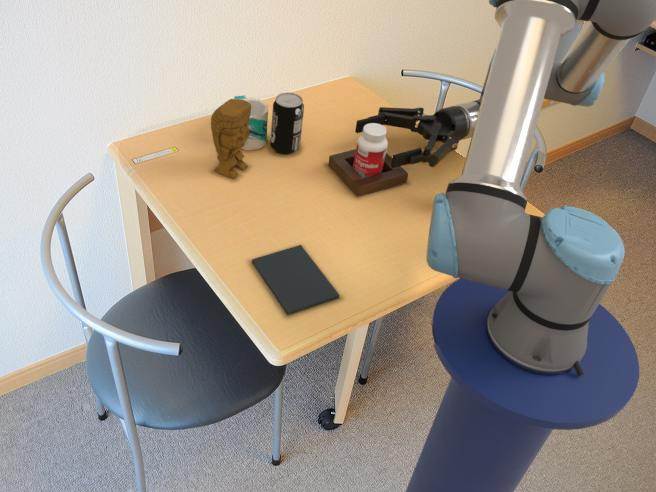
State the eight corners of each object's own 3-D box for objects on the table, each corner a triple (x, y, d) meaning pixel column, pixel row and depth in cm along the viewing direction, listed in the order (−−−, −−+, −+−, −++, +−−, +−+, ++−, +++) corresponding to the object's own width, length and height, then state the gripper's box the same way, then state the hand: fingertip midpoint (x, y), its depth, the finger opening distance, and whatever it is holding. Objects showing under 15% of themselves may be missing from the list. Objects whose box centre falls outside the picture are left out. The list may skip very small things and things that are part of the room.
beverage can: (266, 141, 147) (269, 93, 138) (294, 137, 148) (299, 89, 140) (275, 157, 142) (278, 109, 134) (303, 154, 144) (309, 105, 135)
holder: (406, 183, 137) (408, 173, 135) (357, 196, 133) (359, 187, 131) (375, 153, 145) (376, 143, 143) (328, 165, 141) (329, 155, 139)
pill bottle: (348, 177, 138) (355, 132, 130) (357, 162, 142) (364, 117, 134) (376, 185, 136) (385, 140, 128) (384, 170, 140) (394, 125, 133)
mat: (339, 298, 112) (339, 295, 112) (287, 315, 109) (287, 312, 109) (300, 247, 121) (300, 244, 121) (251, 262, 118) (251, 259, 118)
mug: (235, 152, 143) (236, 118, 137) (222, 123, 151) (222, 90, 146) (271, 147, 145) (273, 113, 139) (256, 119, 153) (257, 86, 148)
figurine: (233, 181, 135) (234, 118, 125) (207, 171, 138) (206, 107, 127) (251, 165, 140) (253, 102, 129) (226, 155, 142) (226, 93, 132)
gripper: (490, 168, 136) (405, 192, 129) (419, 110, 152) (340, 129, 145) (501, 137, 131) (413, 161, 124) (426, 80, 147) (345, 98, 140)
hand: (374, 143), depth 134 cm, fingers open, 13 cm apart
